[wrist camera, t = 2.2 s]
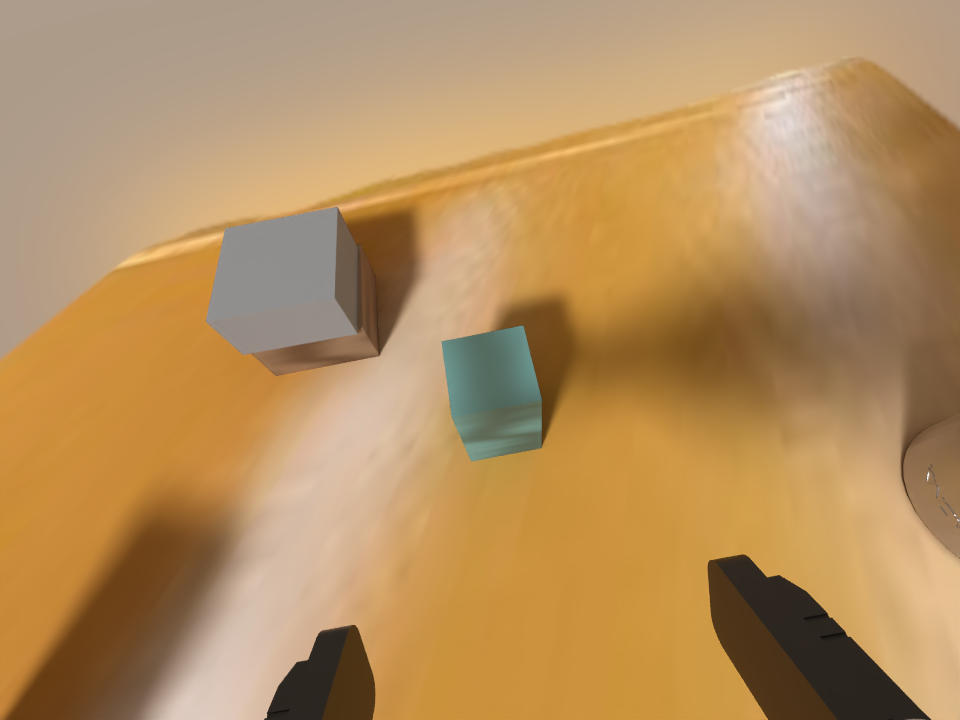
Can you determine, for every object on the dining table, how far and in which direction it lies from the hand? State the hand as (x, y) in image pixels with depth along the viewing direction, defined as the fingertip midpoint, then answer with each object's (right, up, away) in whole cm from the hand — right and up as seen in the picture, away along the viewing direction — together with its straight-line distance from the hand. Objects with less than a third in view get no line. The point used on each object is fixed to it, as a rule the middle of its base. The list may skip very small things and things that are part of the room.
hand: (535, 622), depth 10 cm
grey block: (-14, +10, +23) cm, 29 cm away
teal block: (0, +2, +20) cm, 20 cm away
